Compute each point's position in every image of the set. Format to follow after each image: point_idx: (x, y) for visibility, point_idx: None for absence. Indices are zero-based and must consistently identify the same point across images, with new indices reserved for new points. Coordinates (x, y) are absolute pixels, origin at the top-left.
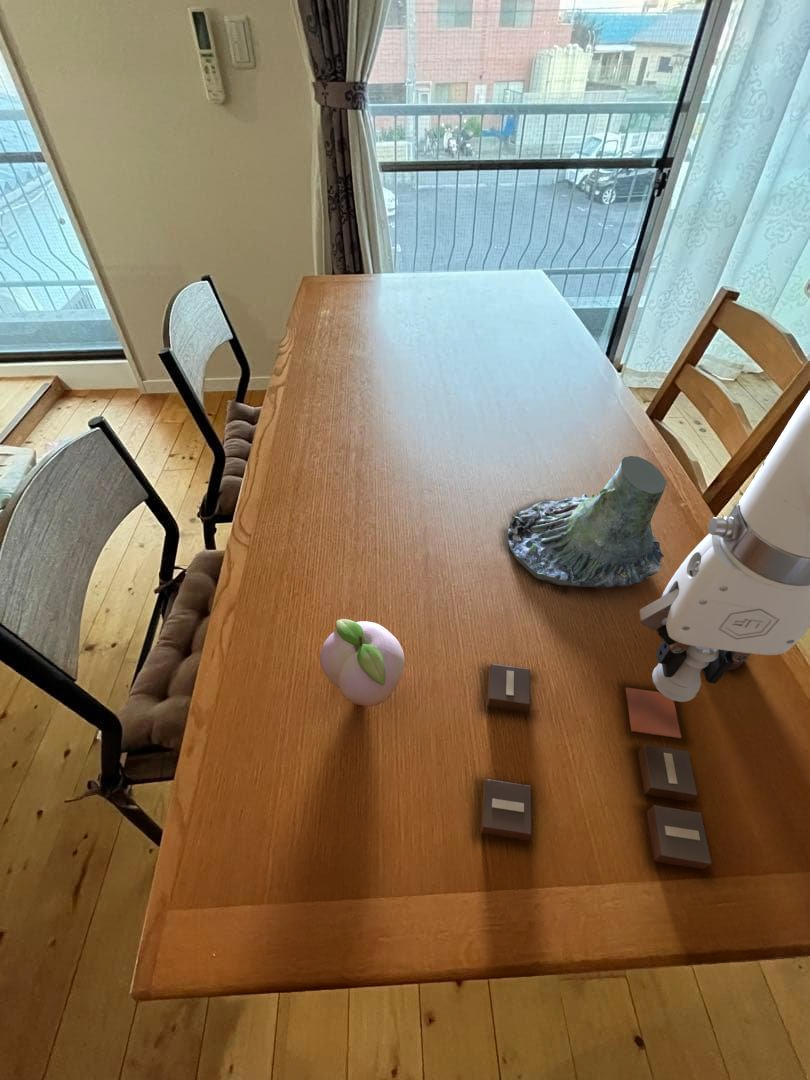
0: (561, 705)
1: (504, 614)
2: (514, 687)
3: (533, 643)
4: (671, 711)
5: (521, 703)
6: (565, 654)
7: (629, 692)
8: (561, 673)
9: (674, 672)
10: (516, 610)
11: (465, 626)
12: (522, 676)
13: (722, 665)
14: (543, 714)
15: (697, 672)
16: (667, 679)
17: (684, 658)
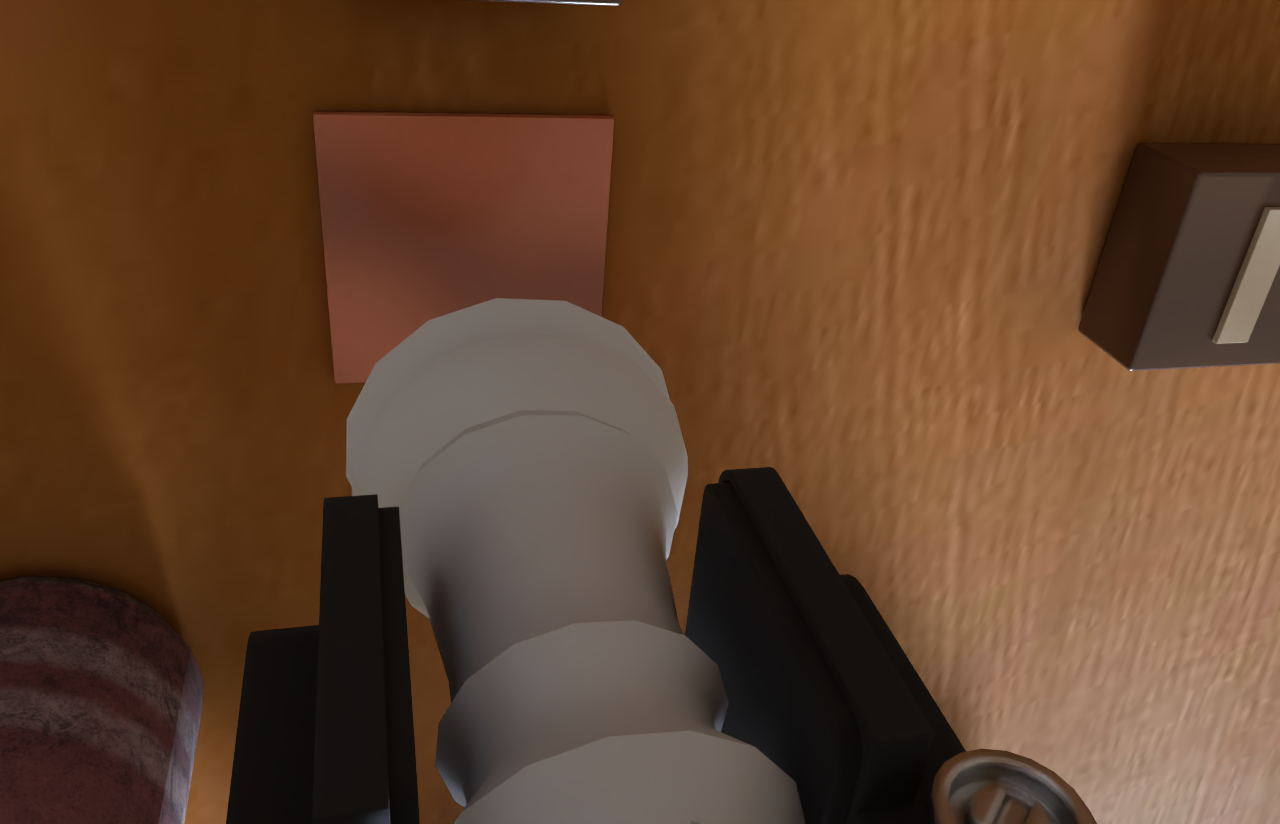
0: (951, 212)
1: (1071, 606)
2: (1241, 256)
3: (989, 505)
4: (355, 276)
5: (1237, 171)
6: (857, 484)
7: None
8: (902, 384)
9: (763, 524)
10: (1014, 635)
11: (1249, 517)
12: (1178, 324)
13: (389, 736)
14: (1055, 146)
15: (518, 569)
16: (652, 451)
17: (868, 716)
